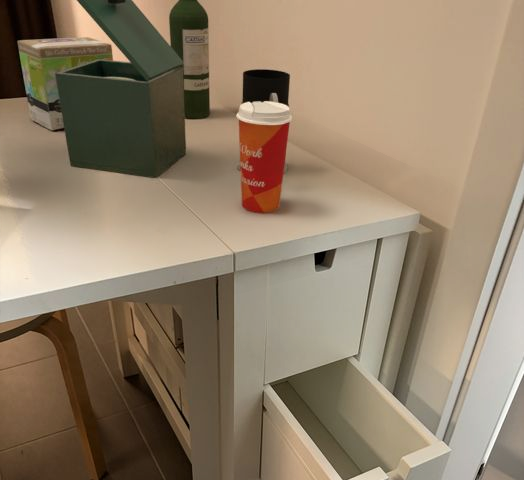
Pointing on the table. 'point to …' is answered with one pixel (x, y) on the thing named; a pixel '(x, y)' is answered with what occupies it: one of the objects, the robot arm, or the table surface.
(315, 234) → the table surface
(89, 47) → the tea box
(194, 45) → the wine bottle
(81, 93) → the dark green square box
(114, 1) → the robot arm
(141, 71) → the lid
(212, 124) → the table surface
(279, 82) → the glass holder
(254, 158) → the paper cup
